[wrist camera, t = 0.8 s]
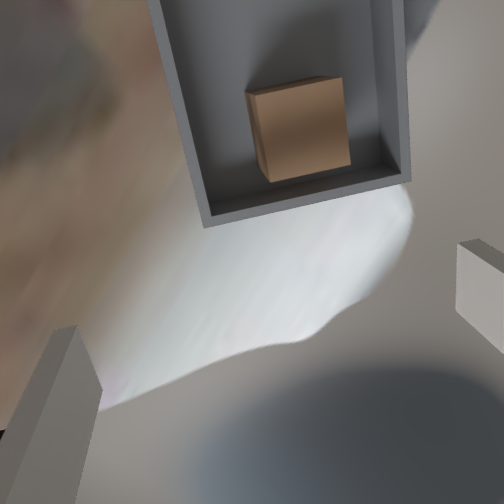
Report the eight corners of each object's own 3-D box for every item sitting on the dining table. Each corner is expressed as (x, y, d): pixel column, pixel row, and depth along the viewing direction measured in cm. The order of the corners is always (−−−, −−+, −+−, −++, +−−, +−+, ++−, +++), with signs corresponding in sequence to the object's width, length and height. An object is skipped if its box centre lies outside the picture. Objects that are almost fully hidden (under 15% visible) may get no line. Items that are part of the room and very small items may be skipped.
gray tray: (117, -130, 29) (105, -162, 25) (365, -175, 30) (393, -214, 26) (202, 211, 39) (203, 228, 35) (388, 169, 40) (411, 181, 35)
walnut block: (244, 91, 35) (254, 95, 29) (317, 75, 35) (341, 77, 30) (257, 165, 37) (270, 182, 32) (326, 150, 38) (350, 164, 32)
